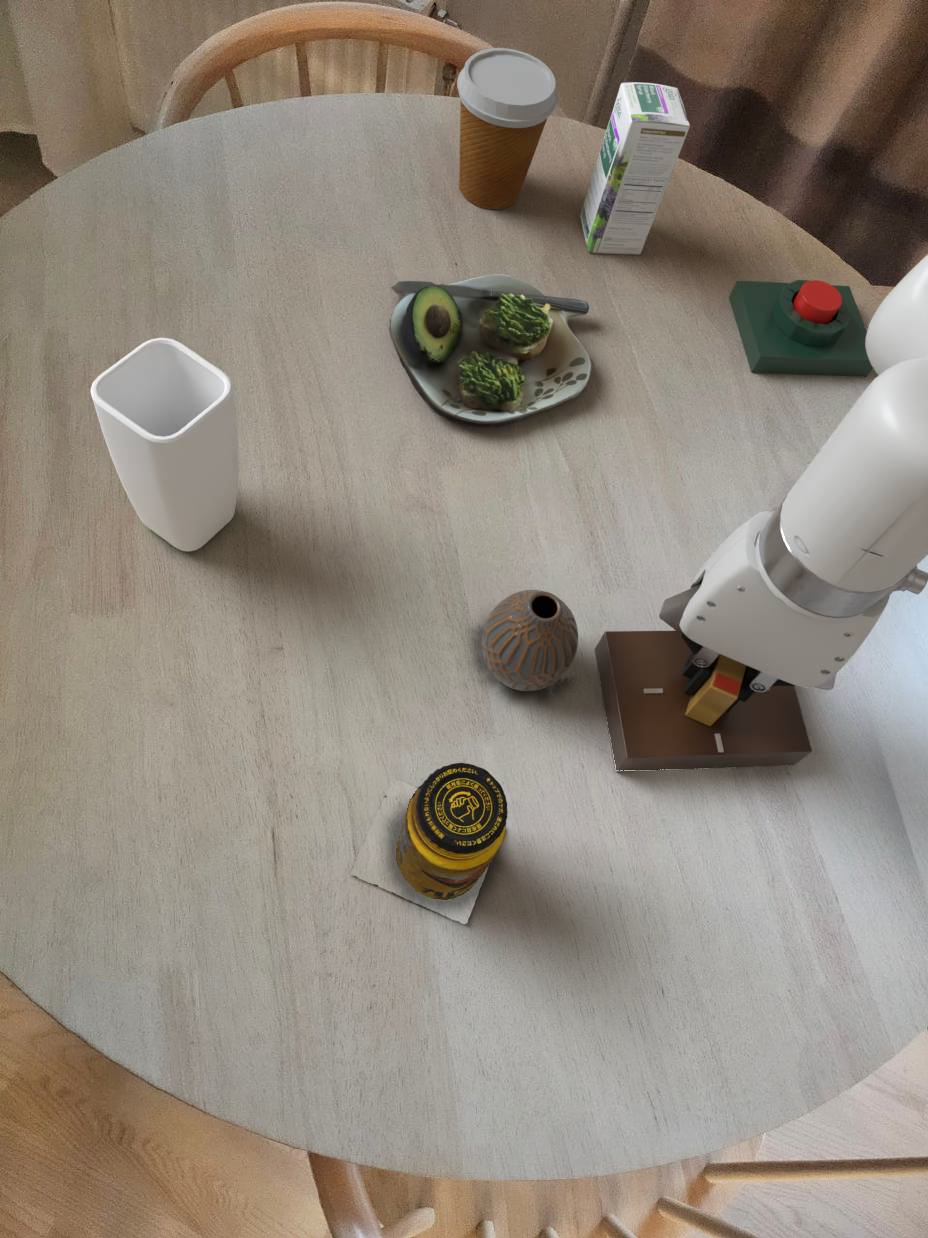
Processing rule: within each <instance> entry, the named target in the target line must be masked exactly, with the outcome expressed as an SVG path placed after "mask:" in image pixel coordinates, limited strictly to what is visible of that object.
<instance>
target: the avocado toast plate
mask: <svg viewBox="0 0 928 1238" xmlns="http://www.w3.org/2000/svg"><path fill="white" fill-rule="evenodd" d="M389 288H390V289H391V290H392V291H393V292H394V293H395V294H396V295H397V297H398V300H397V304H396V306H395V307H394V309H393V311H392V313H391V315H390V319H389V326H388V327H389V330H388V331H389V335H390V338H391V342H392V345H393V346H394V349H395V351H396V355H397V356H398V360H399V362H400V364H401V366H402V367H403V369H404V371H405V372H406V374H407V376H408V378H409V380H410V381H411V384H412V386H413V388H414V389H415V390H416V392H417V393H418V395H419V396H420V397H421V399H422V400H423V401H424V402H425V403H426V404H427V405H428V407H429V408H430V409H432V411H434V412H435V413H436V414H437V415H439V416H441V417H442V418H445V419H446V420H448V421H450V422H453V423H456V424H459V425H463V426H468V427H474V428H493V427H505V426H509V425H513V424H515V423H517V422H519V421H520V420H522V419H524V418H526V417H529V416H532V415H535V414H540V413H541V412H545V411H548V410H551V409H553V408H555V407H556V406H559V405H560V404H563V403H565V402H567V401H568V400H571V399H574V398H576V397H578V396H579V395H580V394H581V393H582V392H583V390H584V389H585V388H586V387H587V386H588V385H589V381H590V378H591V375H592V371H593V362H592V361H591V358H590V356H589V353H588V352H587V350H586V349H585V347H584V346H583V345H582V343H581V342H580V341H579V339H578V338H577V337H576V336H575V334H574V333H573V332H572V330H571V328H570V326H569V323H568V322H569V321H570V320H571V319H573V318H575V317H580V316H581V317H582V316H585V315H587V314H588V313H589V310H590V304H589V303H588V302H587V301H586V300H581V299H575V298H569V297H568V298H567V297H557V296H549V295H548V296H547V295H545V293H543V292H542V291H541V290H540V289H539V288H537V287H536V286H535V285H534V284H531V283H529V282H527V281H526V280H523V279H520V278H517V277H514V276H511V275H508V274H504V273H503V274H502V273H493V274H488V275H480V276H476V277H472V278H468V279H465V280H461V281H456V282H453V283H450V284H443V283H440V284H436V283H434V282H432V281H422V280H402V281H397V282H396V284H394V285H393V286H390V287H389Z"/></svg>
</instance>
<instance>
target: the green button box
mask: <svg viewBox="0 0 928 1238" xmlns="http://www.w3.org/2000/svg"><path fill="white" fill-rule="evenodd" d="M808 281H811V279H810V280H809V279H796V280H794V281H791V282H776V281H775V282H774V281H758V280H757V281H755V280H736V282H735V284H734V285H733V288H732V290H731V292H730V294H729V296H728V299H729V303H730V306H731V309H732V313H733V317H734V320H735V322H736V326H737V330H738V333H739V337H740V339H741V344H742V346H743V349H744V352H745V353H744V354H745V355H746V359H747V363H748V366H749V369H750V370H749V371H750V373H751V374H773V375H774V374H775V375H800V376H805V375H806V376H828V377H830V376H832V377H857V378H859V377H861V378H867V377H868V376H869V374H870V373H871V372H872V371H873V370H874V368H873V367H872V365H871V363H870V361H869V358H868V356H867V352H866V347H865V340H866V334H867V328H866V326H865V323H864V321H863V318H862V316H861V313H860V311H859V308H858V305H857V301H856V299H855V298H854V295H853V292H852V289H851V287H850V286H849V285H833V284H831V285H832V286H833V287H834V288H836V289H837V290H838V292H839V293H840V295H841V297H842V304H841V306H840V308H839V309H838V311H837V312H836V314H835V315H834V317H833V319H832V320H831V321H830V322H828V323H826V324H817V323H813V322H811V321H809V320H806V319H804V318H803V317H802V316H801V315H800V314H798V313H797V312H796V311H795V309H794V305H793V304H794V300H795V298H796V296H797V294H798V293H799V291H800V289H801V287H802V286H803V284H805V283H806V282H808Z"/></svg>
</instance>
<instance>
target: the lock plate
mask: <svg viewBox="0 0 928 1238" xmlns="http://www.w3.org/2000/svg"><path fill="white" fill-rule="evenodd" d="M594 653H595V659H596V666H597V672H598V677H599V678H598V679H599V683H601V684H600V689H602V690H601V695H602V701H604V702H603V707H604V712H606V713H605V718H606V717H607V719H606V723H607V722H608V725H607V729H608V728H609V731H608V735H609V734H610V737H611V743H612V749H613V754H614V760H615V764H616V770H619V771H620V770H623V771H624V770H656V771H666V770H665V769H683V770H704V769H703V768H709V769H727V768H726V767H736V768H758V767H759V766H762V767H785V765H788V766H795V765H797V764H798V763H799V762H801V761H802V760H803V759H804V758H806V757H807V756H808V755H809V754H811V753H812V752H813V749H812V745H811V741H810V738H809V735H808V731H807V727H806V723H805V719H804V716H803V713H802V708H801V705H800V701H799V697H798V694H797V690H796V686H771V687H770V688H769V689H768V690H767V691H766V692H755V693H754V694H753V695H752V696H751V697H750V698H749V699H748V700H747V701H745V702H743V701H741V700H740V701H739V702H738V703H737V704H736V705H735V706H734V707H733V708H732V709H731V710H730V711H729V712H728V713H727V712H724V713H723V714H722V715H721V716H720V717H719V718H718V719H717V720H716V721H715V722H714V723H713V724H712V725H711V726H708V725H706V724H703V723H701V722H699V721H697V720H694V719H692V718H690V717H687V716H685V713H686V710H687V707H688V704H689V701H690V698H691V696H688V695H686V694H684V690H685V686H686V683H687V680H688V677H685V676H683V675H682V671H683V668H684V665H685V663H686V661H687V659H688V657H689V656H690V654H691V653H692V651H691V650H690V648H689V647H688V645H687V644H686V642H685V641H684V640H683V638H682V633H681V632H680V631H676V630H627V631H626V630H620V631H619V630H618V631H617V630H614V631H613V630H612V631H611V630H610V631H609V630H608V631H604V632H603V634H602V636H601V638H600V640H598V642H597V645H596V646H595V648H594ZM610 737H609V738H610ZM611 743H610V744H611ZM612 749H611V750H612ZM782 765H783V766H782ZM755 766H756V767H755ZM757 766H758V767H757ZM695 768H696V769H695ZM698 768H699V769H698ZM700 768H702V769H700ZM660 769H661V770H660ZM662 769H664V770H662Z"/></svg>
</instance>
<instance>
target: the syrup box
mask: <svg viewBox="0 0 928 1238" xmlns="http://www.w3.org/2000/svg"><path fill="white" fill-rule="evenodd" d="M684 105H685V104H684V102H683V100H682V97H681V93H680V91H679V89H678V87H675V86H671V85H670V86H669V85H665V84H659V83H654V82H653V83H652V82H636V81H635V82H634V81H629V82H621V83H620V85H619V89H618V92H617V96H616V98H615V102H614V105H613V108H612V112H611V114H610V118H609V121H608V124H607V128H606V131H605V133H604V136H603V139H602V143H601V146H600V149H599V152H598V156H597V159H596V161H595V162H596V163H595V164H594V165H595V166H594V168H593V172H592V176H591V178H590V181H589V185H588V189H587V191H586V194H585V199H584V202H583V205H582V209H581V212H580V216H579V217H580V221H581V227H582V231H583V237H584V241H585V245H586V249H587V252H588V254H606V255H607V254H609V255H642V251H643V249H644V246H645V245H646V241H647V238H648V237H649V236H648V235H649V234H650V231H651V229H652V226H653V223H654V220H655V219H656V216H657V213H658V211H659V208H660V205H661V203H662V200H663V198H664V195H665V192H666V190H667V187H668V184H669V183H670V179H671V177H672V174H673V172H674V170H675V166H676V164H677V161H678V159H679V156H680V154H681V151H682V149H683V146H684V143H685V140H686V137H687V135H688V132H689V130H690V126H691V124H690V122H689V121H688V117H687V112H686V109H685V106H684Z"/></svg>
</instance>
